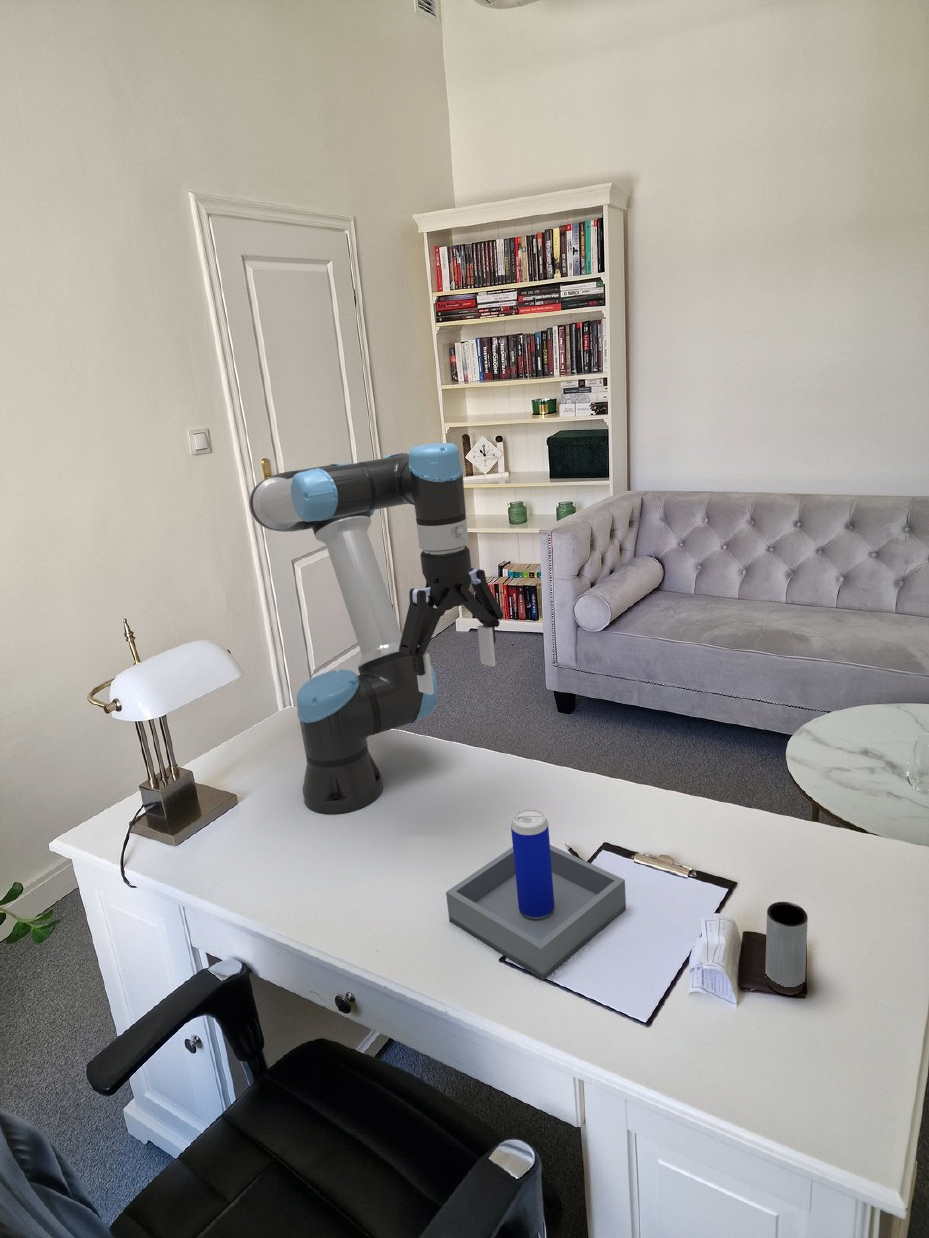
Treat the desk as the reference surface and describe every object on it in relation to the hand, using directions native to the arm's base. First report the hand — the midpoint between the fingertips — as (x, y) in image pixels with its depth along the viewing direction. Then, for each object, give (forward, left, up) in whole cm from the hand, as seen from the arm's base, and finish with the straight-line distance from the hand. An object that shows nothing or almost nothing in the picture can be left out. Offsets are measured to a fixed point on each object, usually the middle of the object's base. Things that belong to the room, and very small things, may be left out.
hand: (458, 678), depth 129 cm
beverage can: (+22, -9, -28) cm, 37 cm away
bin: (+22, -9, -29) cm, 37 cm away
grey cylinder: (+54, +1, -29) cm, 61 cm away
